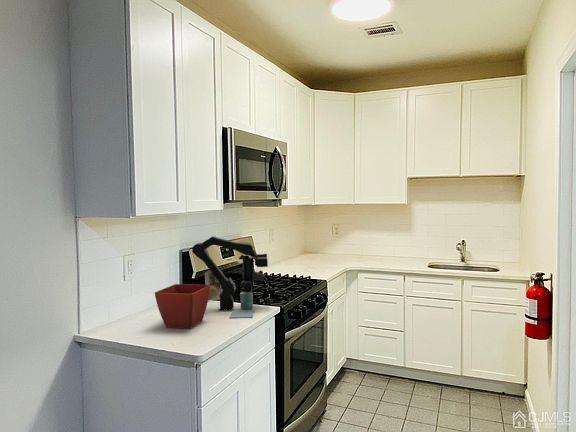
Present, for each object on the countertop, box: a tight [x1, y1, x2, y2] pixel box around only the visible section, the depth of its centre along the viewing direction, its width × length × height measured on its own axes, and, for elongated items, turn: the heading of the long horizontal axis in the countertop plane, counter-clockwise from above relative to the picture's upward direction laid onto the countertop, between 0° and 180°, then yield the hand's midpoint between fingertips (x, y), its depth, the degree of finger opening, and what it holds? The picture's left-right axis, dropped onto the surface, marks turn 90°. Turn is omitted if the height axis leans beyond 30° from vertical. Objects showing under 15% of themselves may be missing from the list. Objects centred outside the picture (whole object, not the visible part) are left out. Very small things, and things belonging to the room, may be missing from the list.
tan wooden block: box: [239, 291, 254, 310], centre depth 218 cm, size 6×3×9 cm, turn 90°
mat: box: [229, 309, 255, 319], centre depth 210 cm, size 11×12×1 cm
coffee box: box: [204, 269, 224, 301], centre depth 242 cm, size 9×6×16 cm
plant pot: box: [154, 283, 210, 329], centre depth 196 cm, size 19×19×17 cm
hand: (249, 296), depth 221 cm, fingers closed
